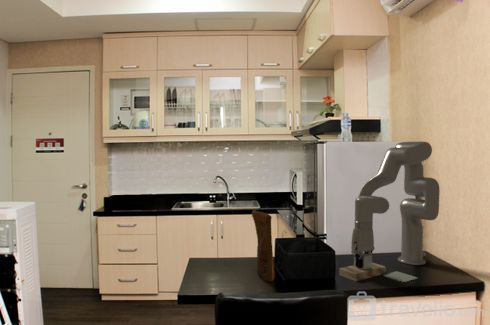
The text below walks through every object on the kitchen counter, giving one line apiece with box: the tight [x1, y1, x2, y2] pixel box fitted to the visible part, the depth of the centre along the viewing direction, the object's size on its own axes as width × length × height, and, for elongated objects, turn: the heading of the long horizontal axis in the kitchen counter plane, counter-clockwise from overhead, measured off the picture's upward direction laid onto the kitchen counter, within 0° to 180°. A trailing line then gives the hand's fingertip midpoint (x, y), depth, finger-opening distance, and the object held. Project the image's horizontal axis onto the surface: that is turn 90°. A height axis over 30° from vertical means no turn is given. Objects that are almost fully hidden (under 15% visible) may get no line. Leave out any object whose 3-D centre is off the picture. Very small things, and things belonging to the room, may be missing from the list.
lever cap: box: [353, 252, 373, 270], centre depth 157 cm, size 4×6×6 cm
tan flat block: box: [338, 262, 387, 282], centre depth 157 cm, size 20×9×3 cm, turn 123°
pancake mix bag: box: [251, 209, 275, 283], centre depth 154 cm, size 7×19×28 cm, turn 15°
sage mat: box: [382, 270, 419, 283], centre depth 154 cm, size 10×10×1 cm
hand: (362, 266), depth 157 cm, fingers closed on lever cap, 4 cm apart
